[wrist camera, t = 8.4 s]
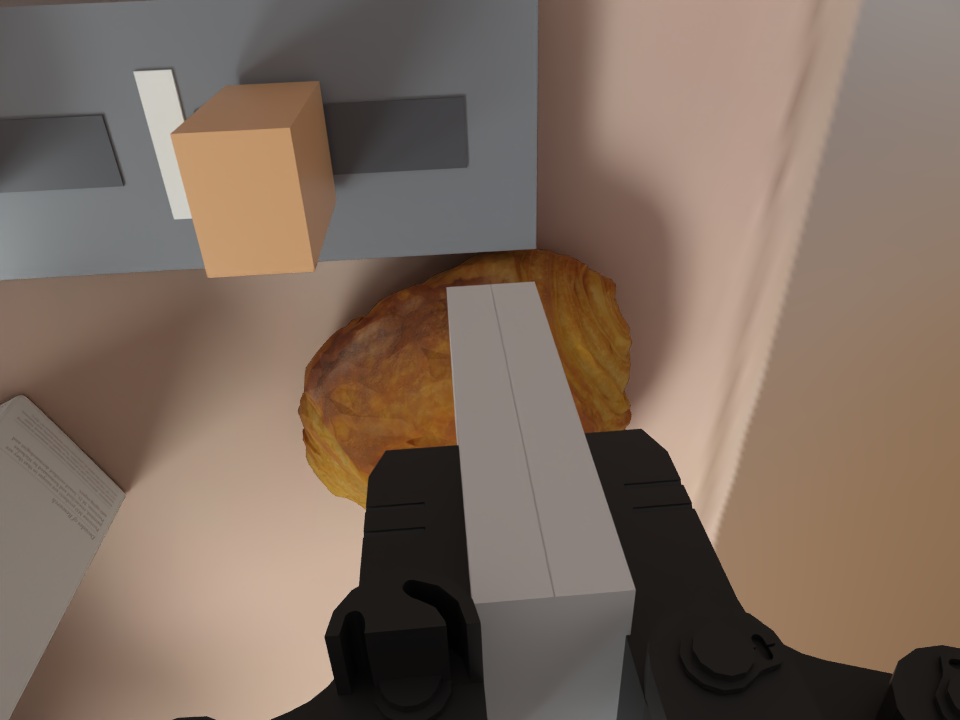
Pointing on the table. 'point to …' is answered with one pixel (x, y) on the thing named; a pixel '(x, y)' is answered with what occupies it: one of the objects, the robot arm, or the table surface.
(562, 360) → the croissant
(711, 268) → the table surface
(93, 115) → the panel
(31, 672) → the supplement box
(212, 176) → the block
